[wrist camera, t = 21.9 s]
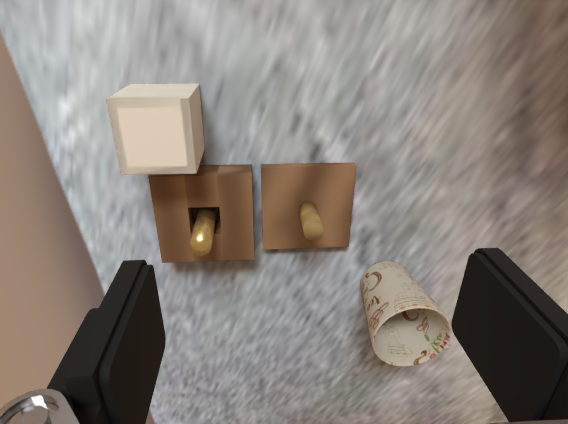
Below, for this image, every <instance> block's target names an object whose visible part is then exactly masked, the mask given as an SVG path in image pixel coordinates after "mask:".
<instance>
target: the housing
mask: <svg viewBox="0 0 568 424" xmlns="http://www.w3.org/2000/svg"><path fill="white" fill-rule="evenodd" d="M106 101H107V106H108V111H109V117H110V122H111V127H112V132H113V137H114V142H115V147H116V152H117V157H118V163H119V168H120V173H121V175H148V174H194V173H197V170H198V167H199V164H200V161H201V158H202V155H203V152H204V149H205V145H204V134H203V123H202V111H201V100H200V89H199V84H130V85H128V86H127V87H125V88H123V89H122V90H120V91H118V92H117V93H115V94H114V95H112V96H110V97H109V98H107V99H106Z"/></svg>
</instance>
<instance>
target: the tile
mask: <svg viewBox="0 0 568 424" xmlns="http://www.w3.org/2000/svg"><path fill="white" fill-rule="evenodd" d="M355 174H356V165H355V163H310V164H261V181H262V232H263V249H292V248H322V247H349V236H350V226H351V216H352V205H353V195H354V185H355Z"/></svg>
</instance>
